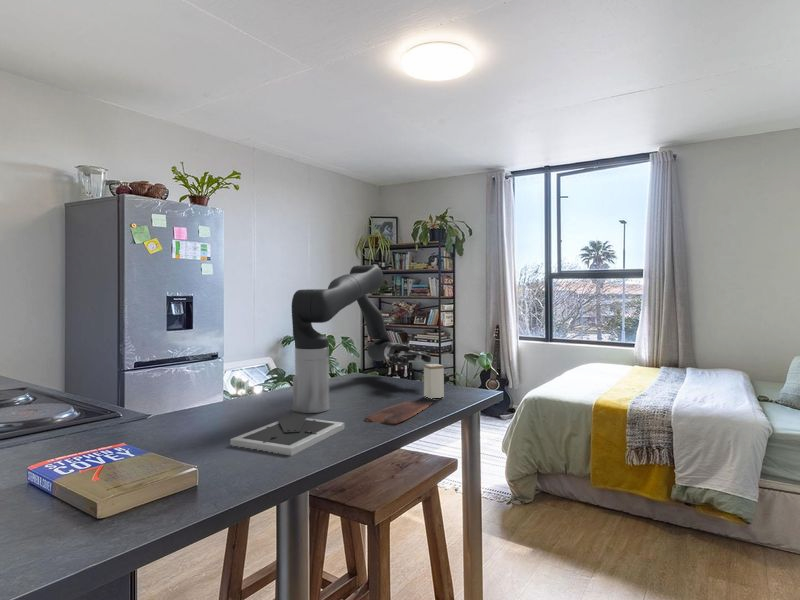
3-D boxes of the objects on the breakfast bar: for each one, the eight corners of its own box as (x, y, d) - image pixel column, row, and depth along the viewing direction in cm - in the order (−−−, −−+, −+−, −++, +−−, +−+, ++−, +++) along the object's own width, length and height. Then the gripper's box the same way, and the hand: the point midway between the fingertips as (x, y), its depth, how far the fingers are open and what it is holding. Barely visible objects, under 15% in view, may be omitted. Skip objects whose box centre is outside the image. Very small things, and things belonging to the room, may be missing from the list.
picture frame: (290, 424, 122) (230, 448, 103) (290, 413, 122) (230, 435, 103) (344, 431, 116) (291, 459, 97) (344, 419, 116) (291, 444, 97)
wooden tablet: (407, 396, 146) (438, 395, 142) (408, 404, 146) (439, 403, 142) (361, 417, 123) (395, 417, 118) (362, 426, 123) (396, 426, 118)
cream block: (423, 396, 150) (423, 364, 150) (436, 395, 152) (436, 363, 152) (430, 399, 146) (430, 366, 146) (444, 398, 148) (444, 365, 148)
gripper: (379, 344, 171) (398, 350, 157) (415, 342, 177) (437, 347, 162) (379, 365, 172) (398, 373, 157) (415, 362, 177) (437, 369, 163)
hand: (417, 360), depth 160 cm, fingers open, 8 cm apart
